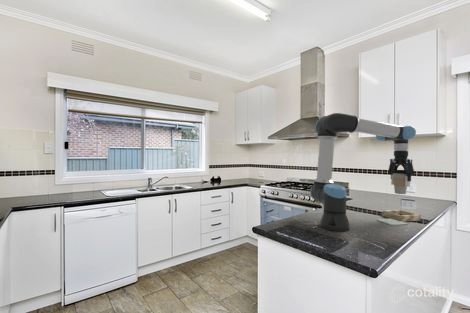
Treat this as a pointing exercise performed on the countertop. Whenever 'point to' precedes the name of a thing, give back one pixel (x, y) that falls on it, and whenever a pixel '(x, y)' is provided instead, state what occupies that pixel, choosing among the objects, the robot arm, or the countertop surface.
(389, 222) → the coaster
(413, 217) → the holder
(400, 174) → the coffee cup
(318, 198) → the robot arm
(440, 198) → the countertop surface
